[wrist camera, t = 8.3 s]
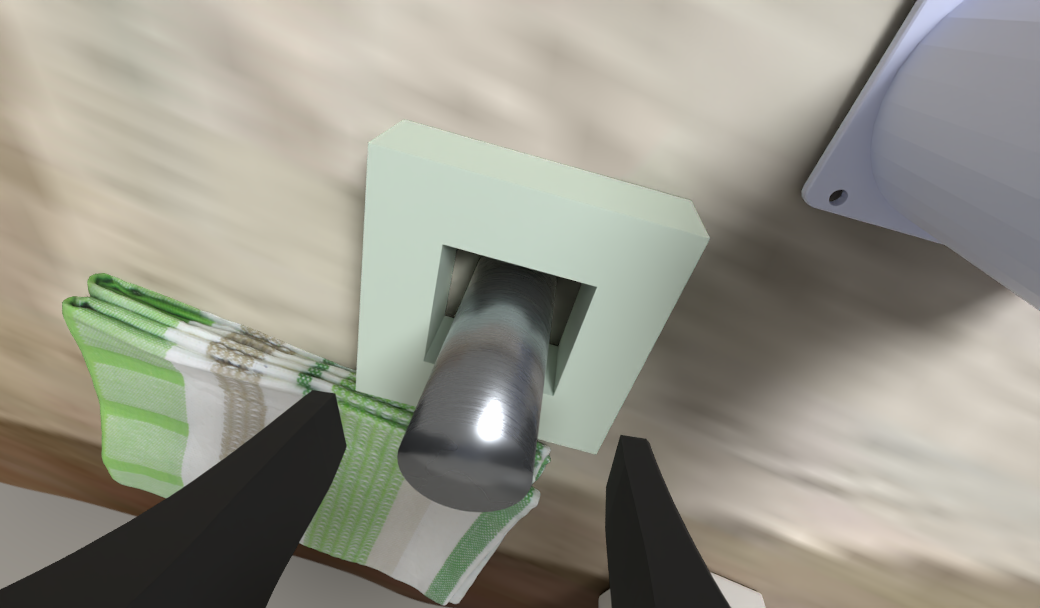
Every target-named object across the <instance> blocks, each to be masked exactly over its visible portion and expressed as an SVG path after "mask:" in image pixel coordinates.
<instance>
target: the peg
mask: <svg viewBox="0 0 1040 608" xmlns="http://www.w3.org/2000/svg"><path fill="white" fill-rule="evenodd" d="M556 283H557V276H556V275H552V274H548V273H545V272H541V271H537V270H534V269H530V268H527V267H523V266H519V265H516V264H512V263H509V262H505V261H501V260H498V259H494V258H490V257H487V256H483V255H482V256H481V258H480V260H479V262H478V264H477V266H476V269H475V271H474V273H473V276H472V278H471V280H470V283H469V285H468V287H467V290H466V292H465V294H464V297H463V299H462V301H461V304H460V306H459V308H458V311H457V313H456V315H455V318H454V320H453V322H452V325H451V327H450V329H449V332H448V334H447V336H446V339H445V341H444V343H443V346H442V348H441V350H440V353H439V355H438V357H437V360H436V362H435V364H434V367H433V369H432V371H431V374H430V376H429V378H428V381H427V383H426V385H425V388H424V390H423V392H422V395H421V397H420V399H419V402H418V404H417V406H416V409H415V411H414V413H413V416H412V418H411V420H410V423H409V425H408V427H407V430H406V432H405V434H404V437H403V439H402V441H401V444H400V446H399V449H398V454H397V461H398V466H399V469H400V471H401V473H402V475H403V476H404V478H405V479H406V481H407V482H408V483H409V484H410V485H411V486H412V487H413V488H414V489H415V490H416V491H418V492H419V493H420V494H422V495H423V496H425V497H426V498H428V499H430V500H432V501H434V502H436V503H438V504H441V505H443V506H446V507H449V508H453V509H457V510H461V511H467V512H493V511H499V510H502V509H506V508H508V507H511V506H513V505H515V504H517V503H518V502H520V501H521V500H522V499H523V498H524V497H525V496H526V495H527V493H528V492H529V490H530V488H531V485H532V480H533V472H534V464H535V456H536V447H537V439H538V431H539V423H540V414H541V406H542V398H543V390H544V381H545V373H546V365H547V357H548V349H549V340H550V332H551V324H552V316H553V307H554V299H555V291H556Z"/></svg>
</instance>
